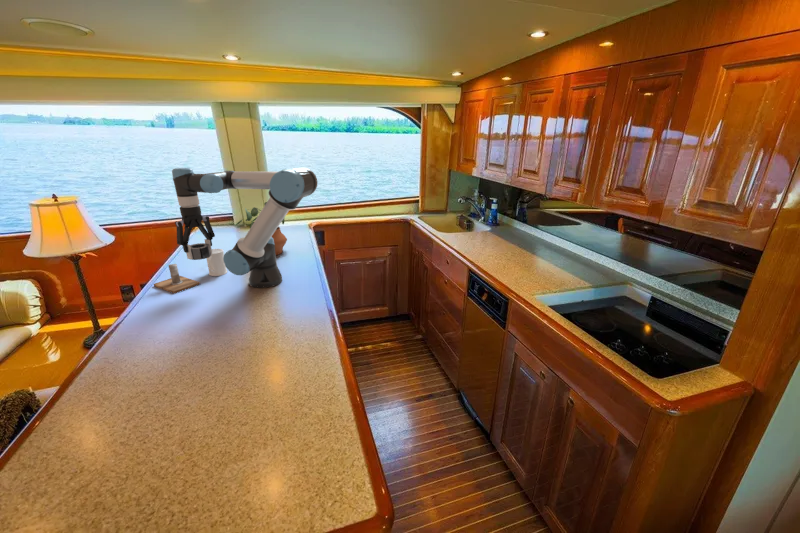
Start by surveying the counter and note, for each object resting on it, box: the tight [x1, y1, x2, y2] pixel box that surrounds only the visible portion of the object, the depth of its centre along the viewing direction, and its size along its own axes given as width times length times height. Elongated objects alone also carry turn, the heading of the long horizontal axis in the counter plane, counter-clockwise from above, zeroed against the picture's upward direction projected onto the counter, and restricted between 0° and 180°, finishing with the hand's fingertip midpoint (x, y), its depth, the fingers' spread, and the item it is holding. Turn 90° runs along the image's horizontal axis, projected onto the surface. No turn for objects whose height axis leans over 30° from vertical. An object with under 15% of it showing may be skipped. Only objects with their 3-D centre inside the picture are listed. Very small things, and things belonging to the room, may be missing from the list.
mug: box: [205, 248, 229, 277], centre depth 169 cm, size 12×8×12 cm
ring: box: [189, 242, 211, 261], centre depth 149 cm, size 8×8×5 cm
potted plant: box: [234, 201, 288, 256], centre depth 198 cm, size 23×28×30 cm
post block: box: [153, 263, 201, 294], centre depth 156 cm, size 16×12×10 cm
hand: (200, 255), depth 150 cm, fingers closed on ring, 8 cm apart
